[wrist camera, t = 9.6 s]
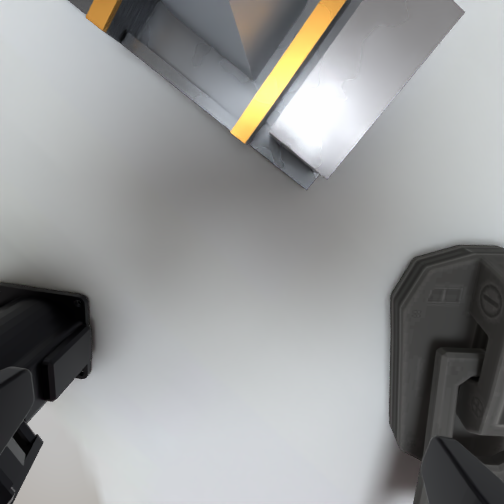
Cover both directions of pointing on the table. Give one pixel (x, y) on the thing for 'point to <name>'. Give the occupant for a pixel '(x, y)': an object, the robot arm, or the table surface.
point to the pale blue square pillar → (240, 27)
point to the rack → (292, 72)
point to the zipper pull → (449, 354)
